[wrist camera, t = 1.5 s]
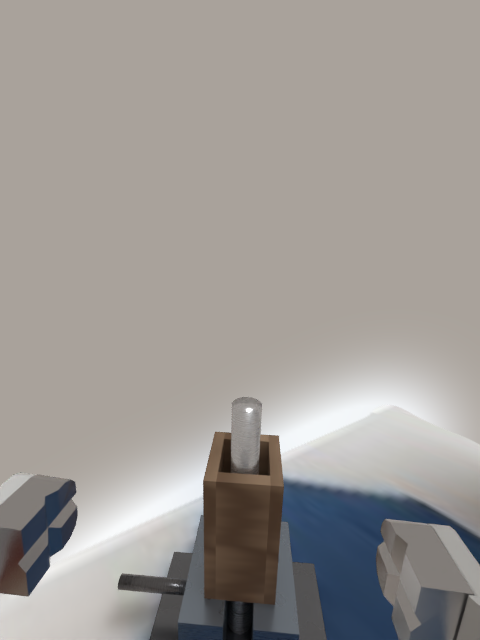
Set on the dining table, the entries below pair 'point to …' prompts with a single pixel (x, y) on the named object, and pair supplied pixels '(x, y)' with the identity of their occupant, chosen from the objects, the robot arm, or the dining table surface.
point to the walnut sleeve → (242, 524)
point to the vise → (233, 616)
